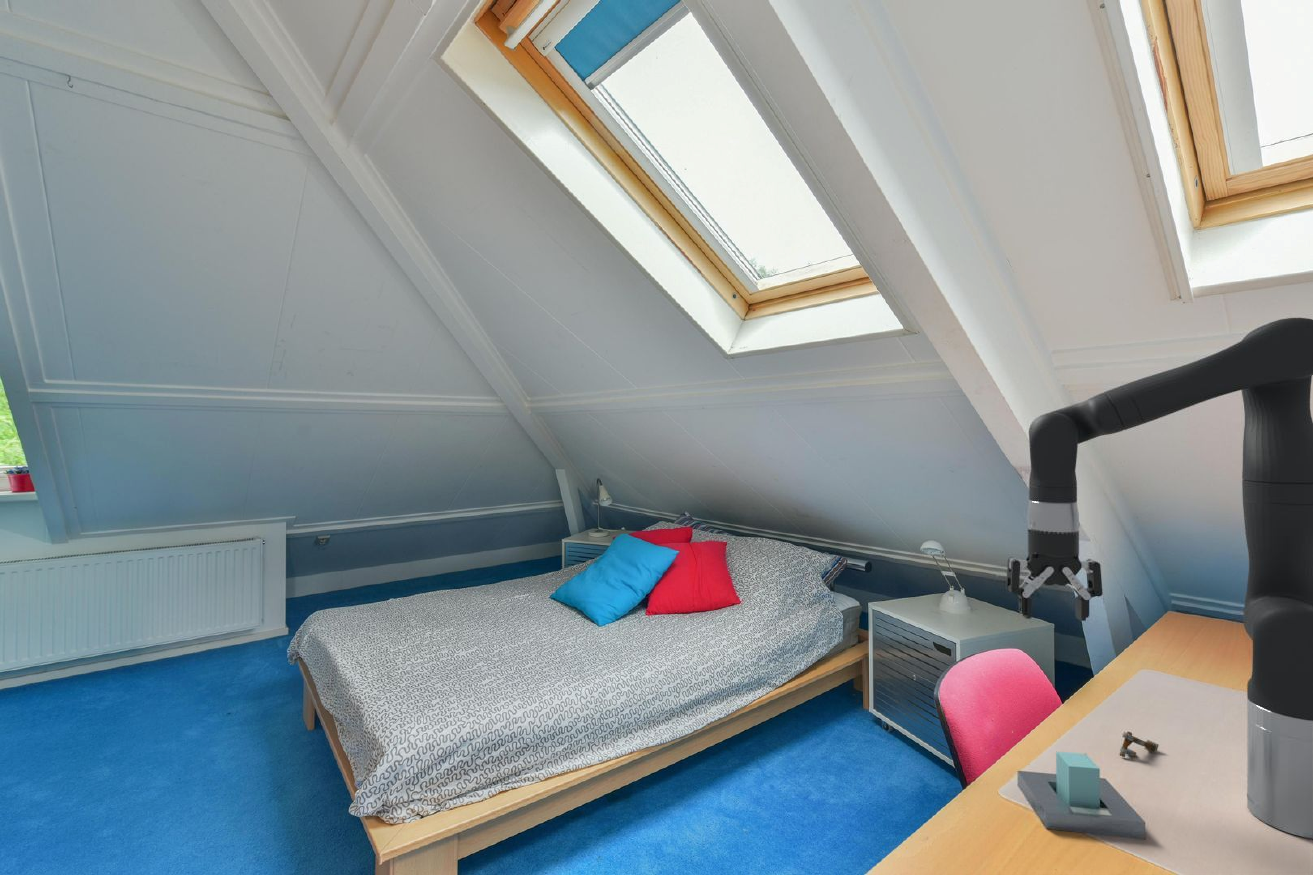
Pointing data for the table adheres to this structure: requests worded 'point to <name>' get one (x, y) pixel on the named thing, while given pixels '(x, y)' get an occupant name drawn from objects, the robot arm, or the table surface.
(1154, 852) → the table surface
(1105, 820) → the rail plate
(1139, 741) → the brown piece
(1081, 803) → the teal peg
